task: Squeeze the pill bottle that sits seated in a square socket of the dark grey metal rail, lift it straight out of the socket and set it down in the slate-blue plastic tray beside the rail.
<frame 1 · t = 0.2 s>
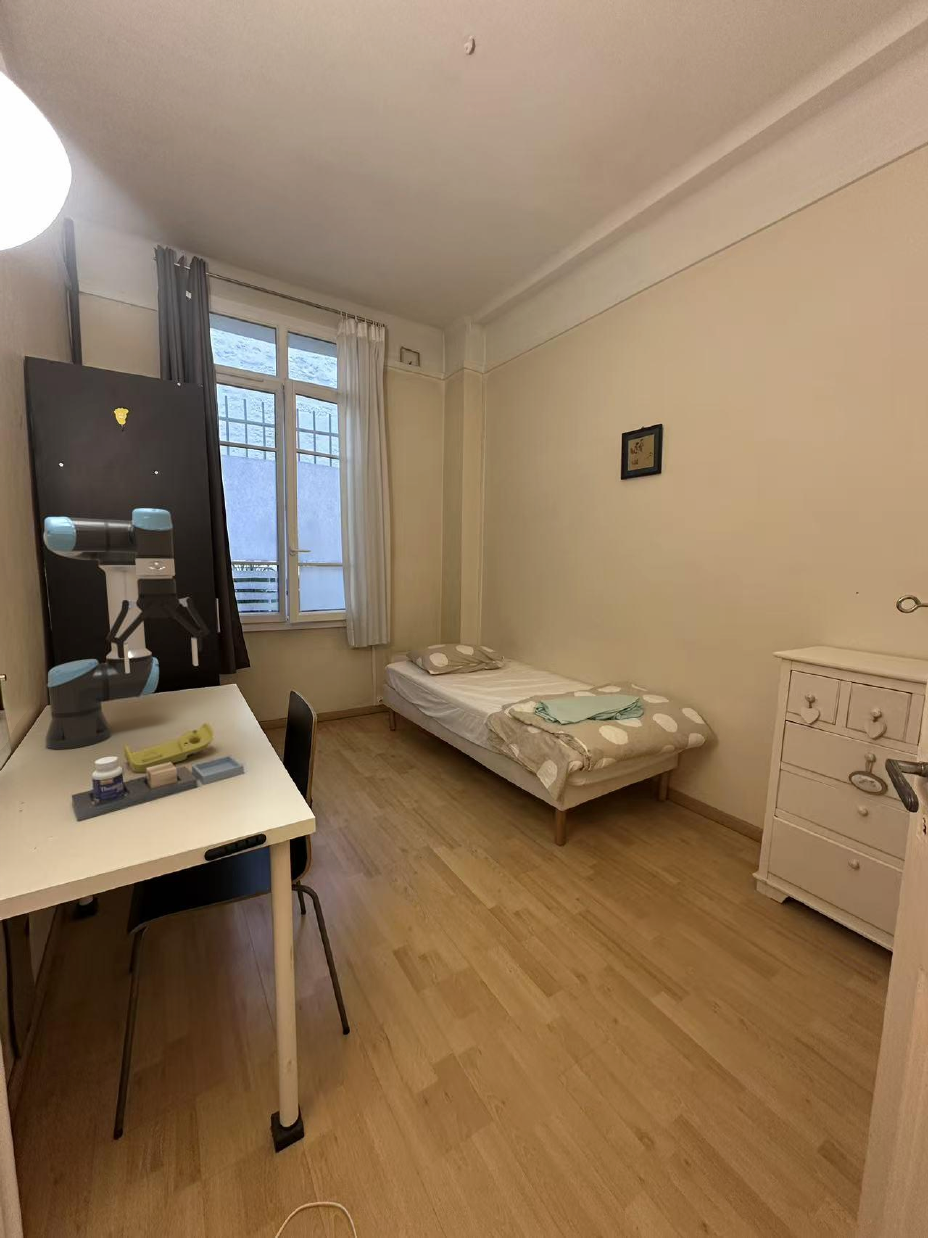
hand: (162, 668, 114), 27 cm above the table, fingers open, 13 cm apart
rail: (137, 795, 109), on the table
tray: (217, 773, 121), on the table
pill bottle: (110, 803, 106), resting in rail
beech block: (162, 788, 113), resting in rail
plastic component: (172, 760, 130), on the table
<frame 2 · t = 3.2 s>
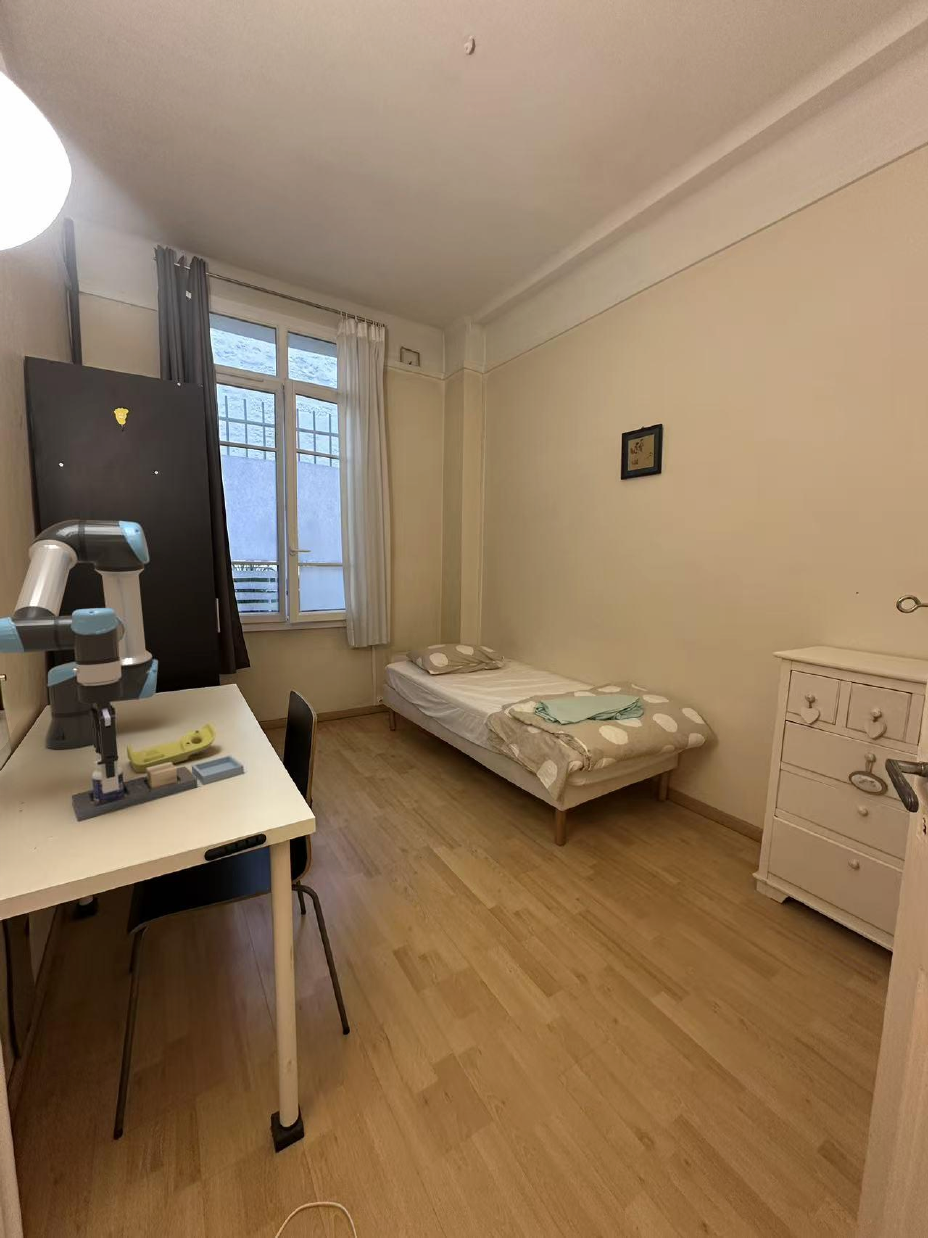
hand: (108, 786, 105), 4 cm above the table, fingers closed on pill bottle, 5 cm apart
pill bottle: (110, 803, 106), resting in rail, touching gripper
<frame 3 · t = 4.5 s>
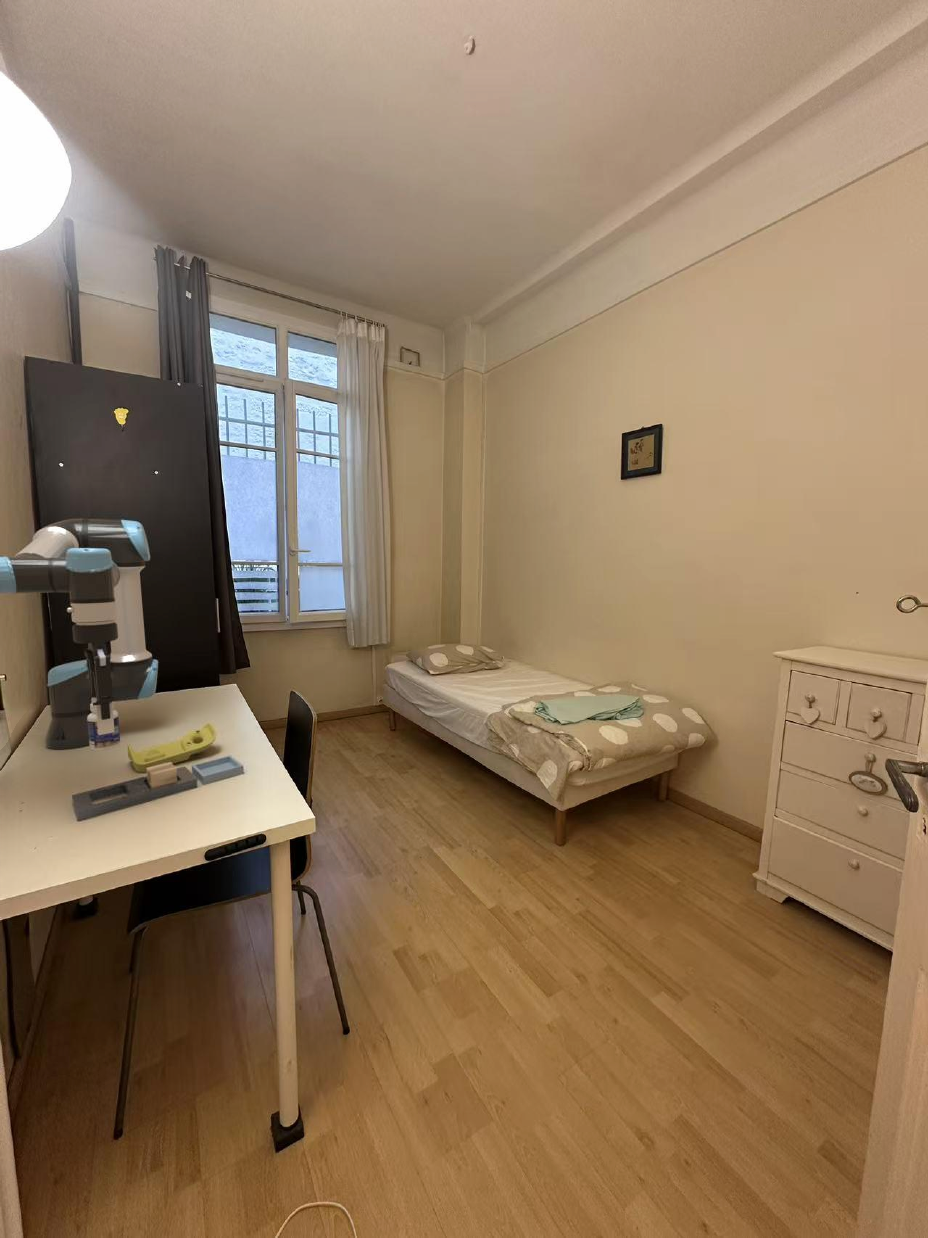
hand: (104, 729, 104), 16 cm above the table, fingers closed on pill bottle, 5 cm apart
pill bottle: (105, 747, 105), point 12 cm above the table, touching gripper
everything else where it was.
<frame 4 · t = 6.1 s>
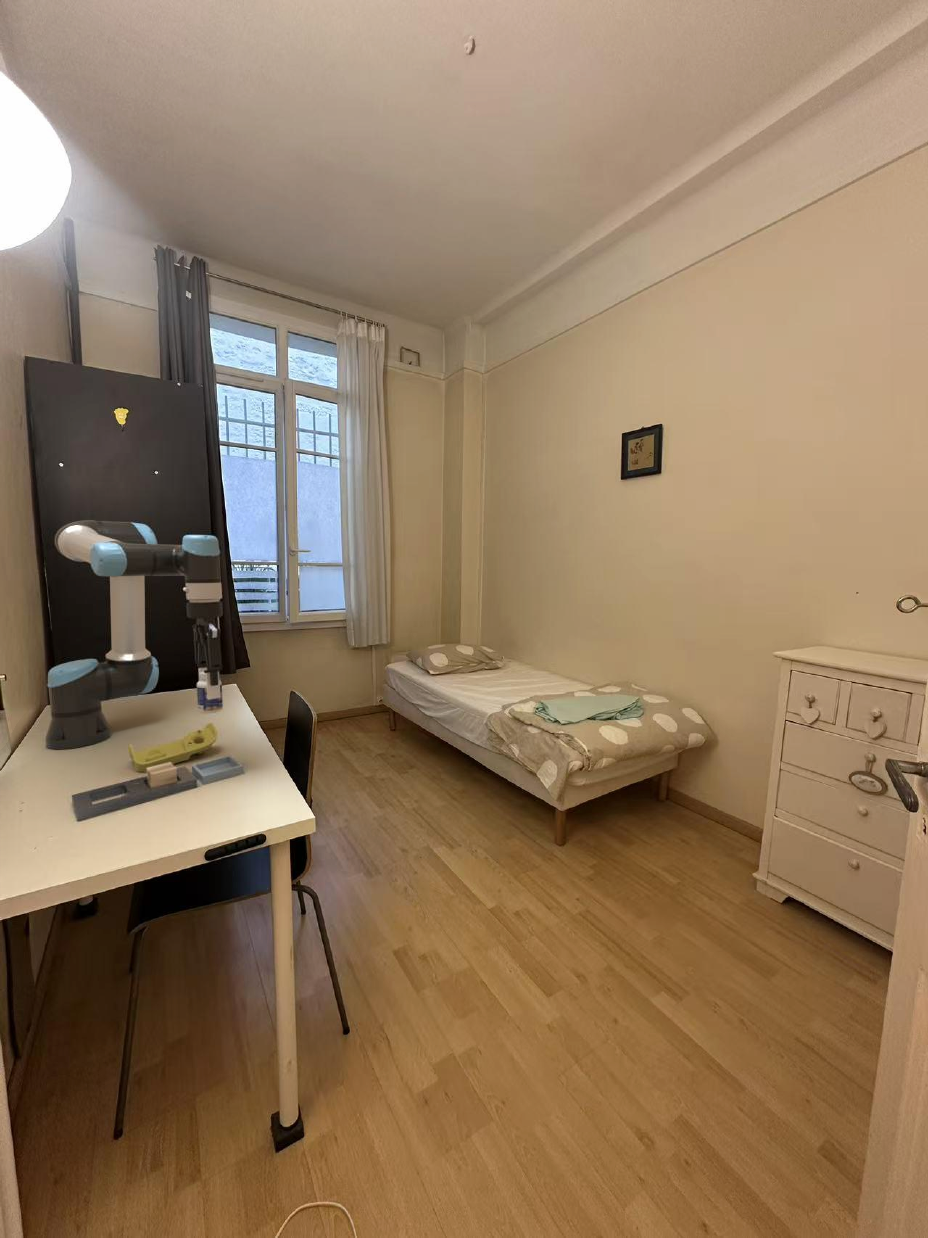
hand: (210, 695, 118), 20 cm above the table, fingers closed on pill bottle, 5 cm apart
pill bottle: (210, 711, 119), point 16 cm above the table, touching gripper
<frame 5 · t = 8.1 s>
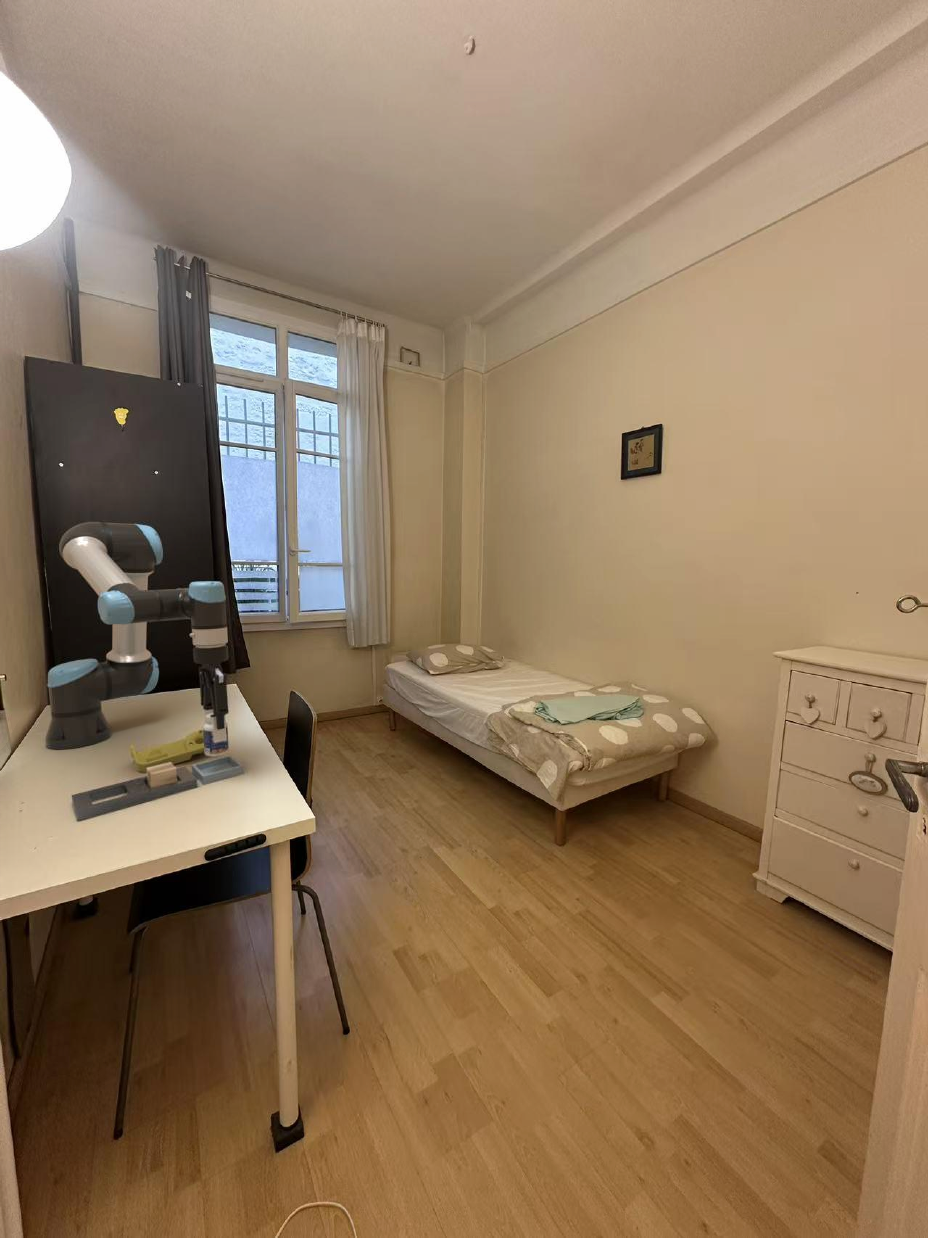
hand: (216, 737, 120), 9 cm above the table, fingers closed on pill bottle, 5 cm apart
pill bottle: (216, 753, 120), point 5 cm above the table, touching gripper
when the fingers open (6 cm above the table, at t = 9.5 s): pill bottle drops 1 cm, resting on tray.
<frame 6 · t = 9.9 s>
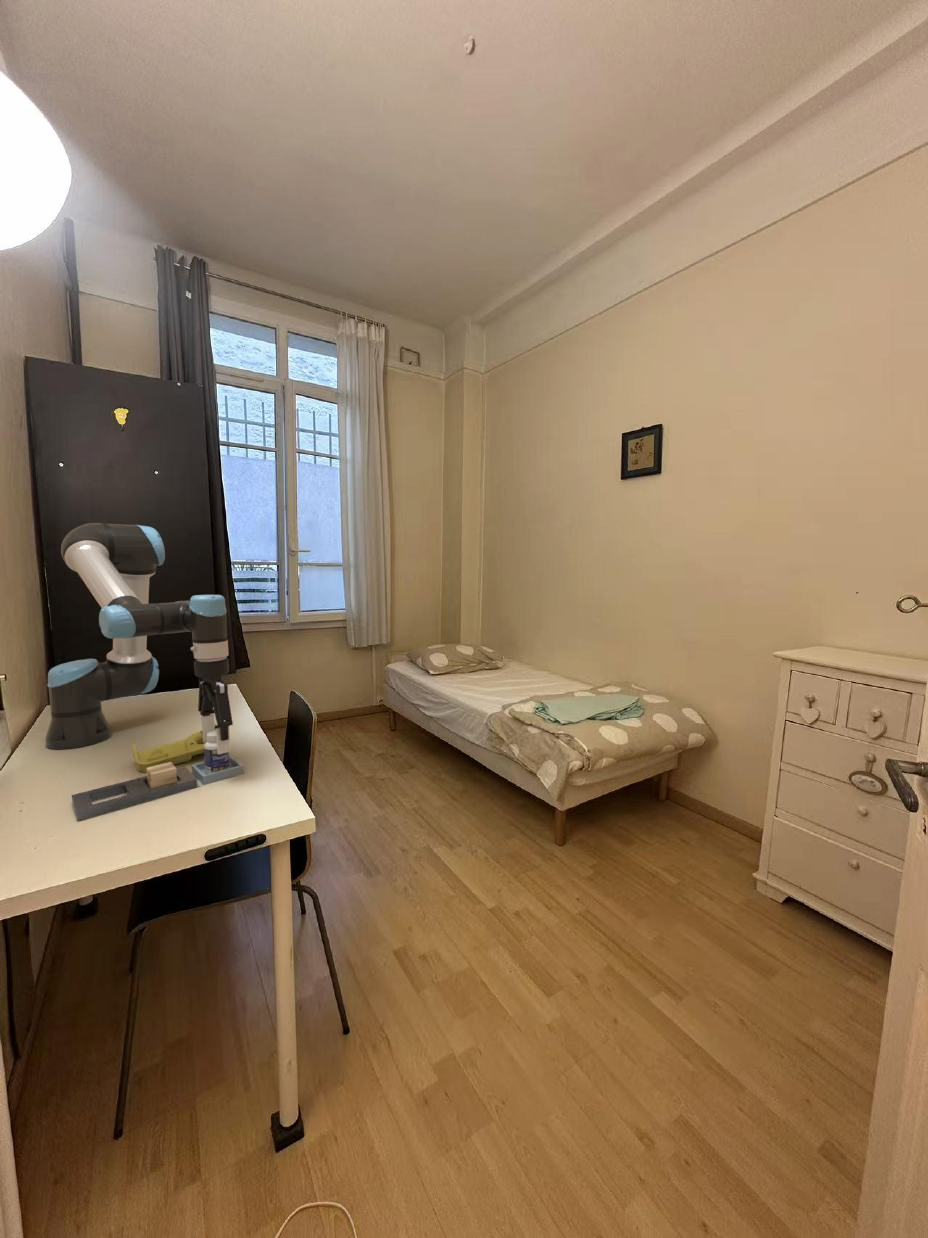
hand: (216, 746, 120), 7 cm above the table, fingers open, 10 cm apart
pill bottle: (217, 771, 121), resting on tray
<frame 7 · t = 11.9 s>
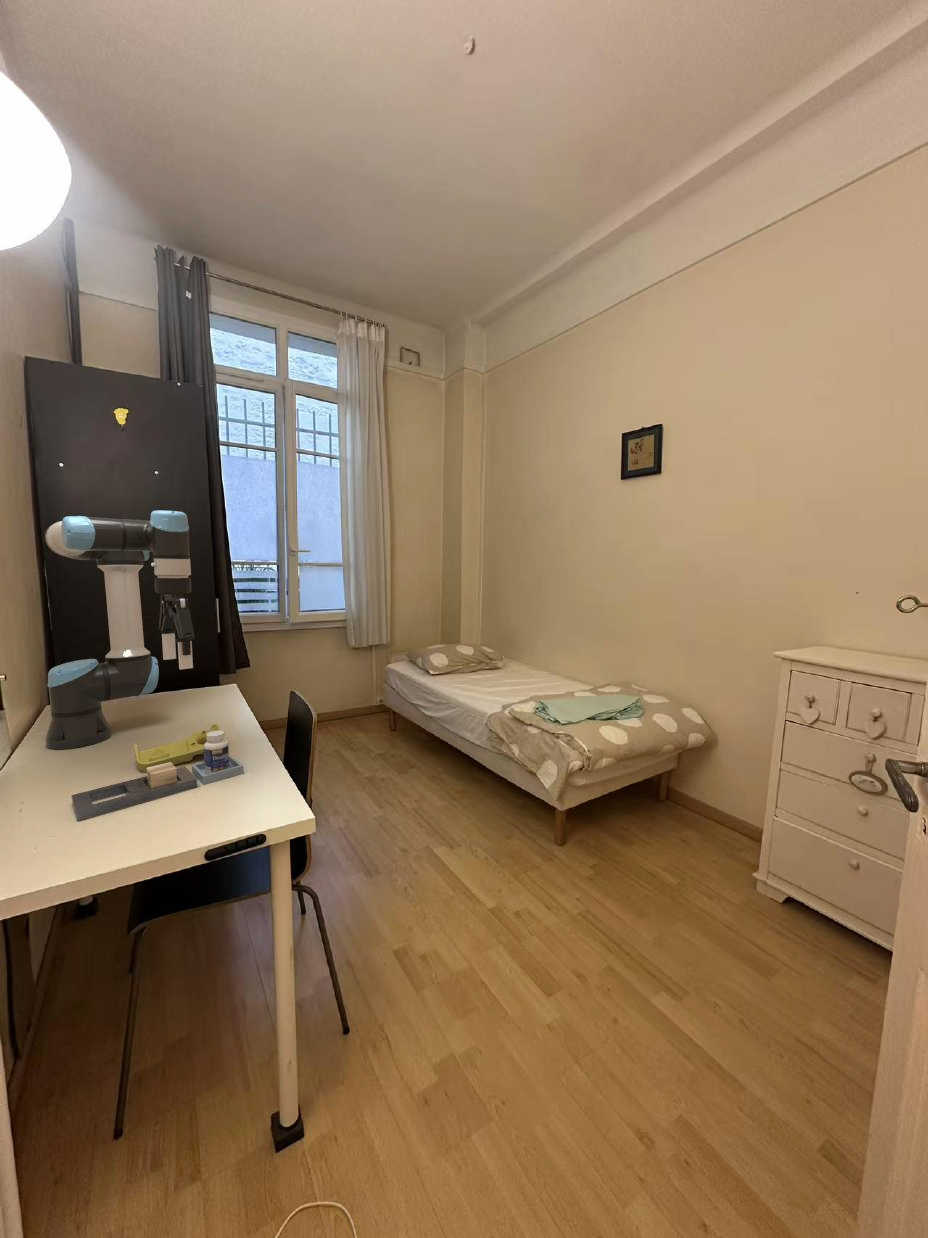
hand: (177, 663, 119), 28 cm above the table, fingers open, 13 cm apart
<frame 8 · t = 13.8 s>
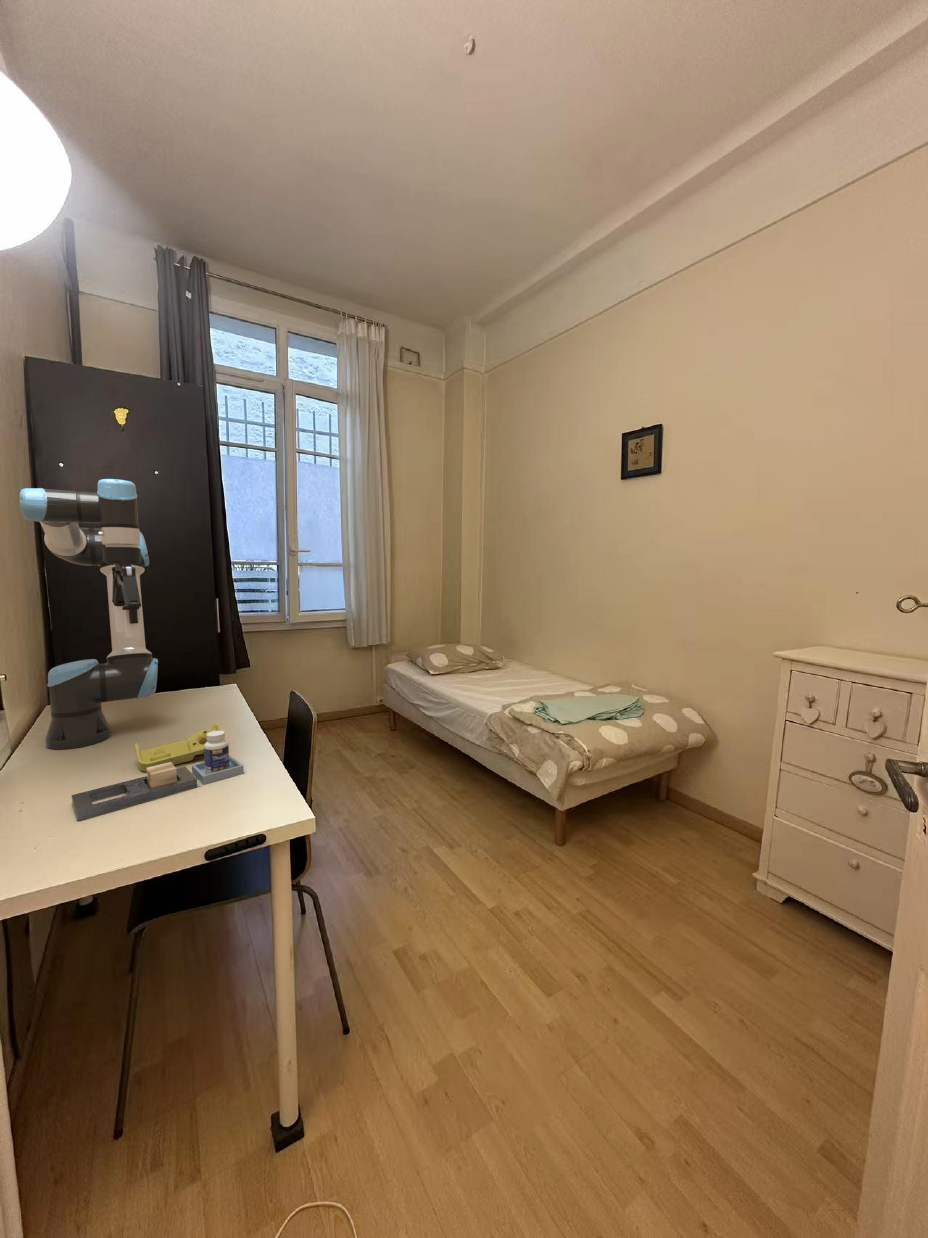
hand: (128, 634, 118), 35 cm above the table, fingers open, 13 cm apart
at the end: pill bottle inside the target area on the tray (0.0 cm from its centre), point 0.3 cm above the tray's base; pill bottle tilted 0°; the gripper is holding nothing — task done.
